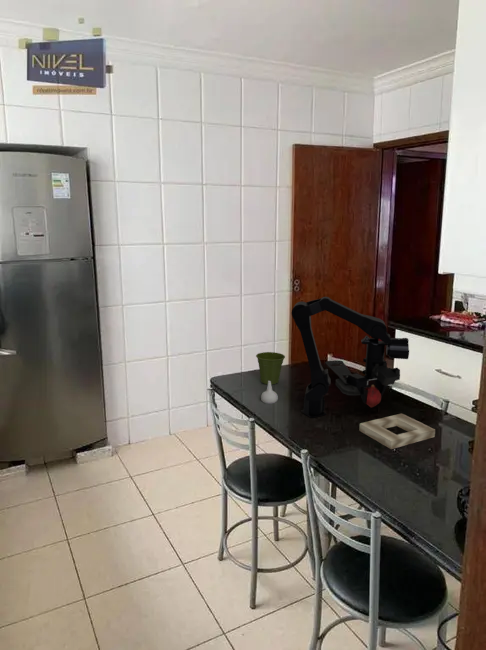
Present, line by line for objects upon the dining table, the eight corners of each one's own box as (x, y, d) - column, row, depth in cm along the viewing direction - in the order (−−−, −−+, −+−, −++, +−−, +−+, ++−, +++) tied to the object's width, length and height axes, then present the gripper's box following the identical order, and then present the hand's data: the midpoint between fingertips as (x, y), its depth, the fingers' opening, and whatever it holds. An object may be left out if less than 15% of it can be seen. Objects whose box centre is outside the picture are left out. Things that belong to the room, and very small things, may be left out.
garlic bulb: (280, 404, 177) (282, 383, 175) (265, 405, 174) (267, 384, 173) (272, 398, 182) (274, 378, 181) (257, 399, 180) (259, 378, 178)
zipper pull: (343, 359, 208) (368, 378, 184) (342, 374, 209) (367, 394, 185) (323, 360, 206) (346, 379, 182) (322, 375, 207) (345, 396, 183)
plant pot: (278, 388, 191) (278, 361, 189) (250, 384, 196) (251, 357, 194) (288, 379, 201) (289, 354, 199) (262, 375, 206) (262, 350, 204)
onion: (379, 411, 159) (381, 388, 157) (361, 409, 161) (363, 386, 159) (381, 405, 164) (382, 383, 162) (363, 403, 166) (365, 381, 164)
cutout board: (391, 449, 142) (391, 441, 141) (359, 430, 154) (359, 423, 153) (434, 437, 150) (435, 429, 149) (401, 420, 162) (401, 413, 161)
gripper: (370, 367, 147) (366, 415, 151) (414, 359, 156) (410, 405, 159) (346, 358, 157) (344, 403, 160) (389, 351, 165) (386, 394, 169)
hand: (371, 401), depth 162 cm, fingers closed on onion, 6 cm apart
